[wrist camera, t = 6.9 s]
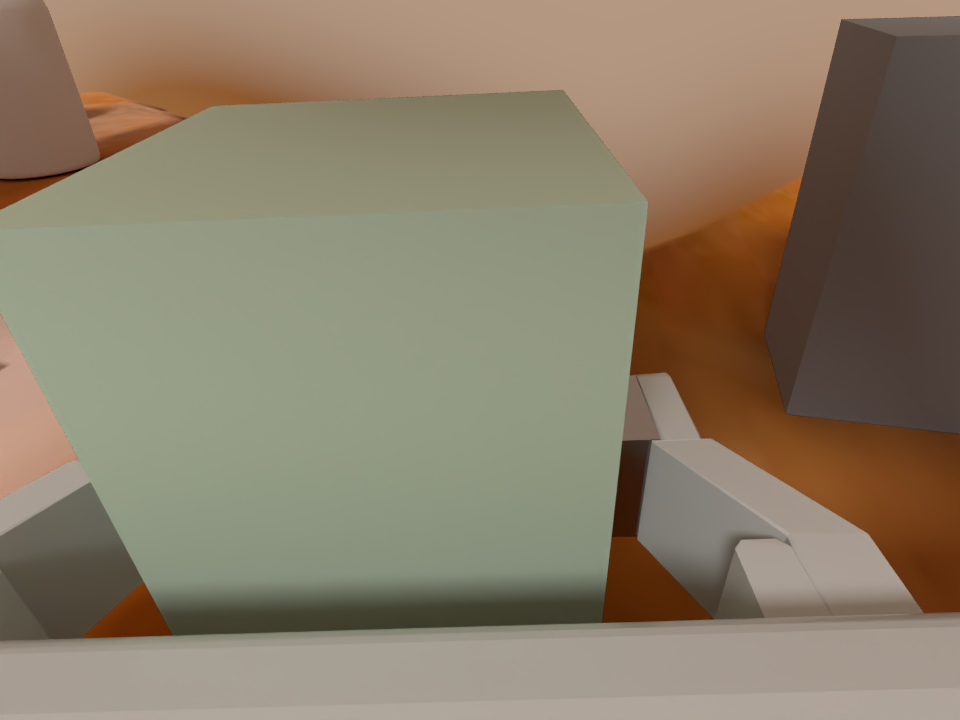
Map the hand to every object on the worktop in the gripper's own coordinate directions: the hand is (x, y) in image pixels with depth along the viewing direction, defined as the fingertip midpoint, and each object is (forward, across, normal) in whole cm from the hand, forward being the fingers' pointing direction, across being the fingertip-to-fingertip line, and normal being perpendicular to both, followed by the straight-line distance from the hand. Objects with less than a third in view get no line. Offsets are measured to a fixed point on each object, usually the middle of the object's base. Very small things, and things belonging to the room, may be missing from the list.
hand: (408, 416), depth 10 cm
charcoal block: (+8, -13, +6) cm, 17 cm away
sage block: (-1, 0, +6) cm, 6 cm away
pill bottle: (+41, +33, +6) cm, 53 cm away
